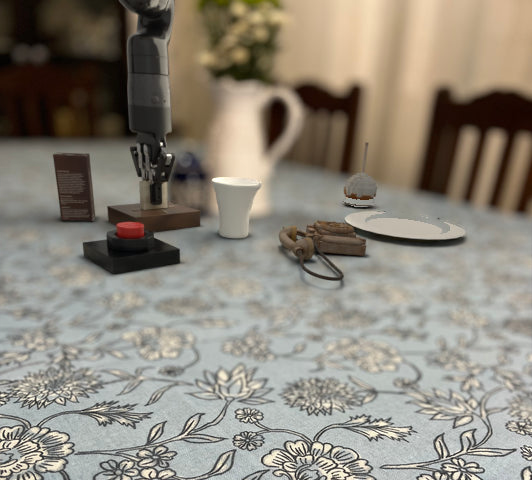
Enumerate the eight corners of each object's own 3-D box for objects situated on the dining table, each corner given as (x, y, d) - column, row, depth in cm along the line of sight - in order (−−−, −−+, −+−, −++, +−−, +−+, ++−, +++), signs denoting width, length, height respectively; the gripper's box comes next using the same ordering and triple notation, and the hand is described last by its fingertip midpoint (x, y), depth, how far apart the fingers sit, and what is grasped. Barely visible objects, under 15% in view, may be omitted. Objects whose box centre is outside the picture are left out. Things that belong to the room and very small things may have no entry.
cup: (249, 243, 92) (251, 185, 88) (202, 236, 95) (202, 179, 90) (266, 233, 100) (269, 179, 95) (222, 226, 102) (223, 173, 98)
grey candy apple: (365, 203, 136) (374, 141, 129) (379, 209, 129) (389, 144, 123) (338, 202, 134) (345, 140, 127) (350, 209, 127) (359, 143, 120)
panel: (136, 234, 93) (135, 216, 92) (108, 221, 100) (107, 205, 99) (200, 226, 102) (200, 209, 100) (170, 215, 109) (170, 199, 107)
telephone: (293, 286, 72) (297, 256, 70) (271, 230, 101) (273, 208, 100) (397, 294, 74) (403, 265, 72) (345, 237, 103) (349, 215, 101)
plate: (439, 254, 93) (441, 245, 92) (321, 228, 106) (322, 220, 105) (481, 233, 111) (482, 225, 111) (376, 213, 124) (377, 205, 124)
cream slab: (144, 209, 98) (142, 181, 95) (140, 208, 99) (139, 179, 96) (167, 207, 101) (166, 179, 98) (163, 206, 102) (162, 178, 99)
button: (124, 241, 75) (124, 229, 75) (112, 235, 78) (111, 223, 77) (149, 237, 78) (148, 226, 77) (136, 232, 80) (135, 220, 80)
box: (95, 216, 103) (90, 152, 98) (93, 221, 99) (87, 155, 94) (64, 216, 102) (56, 151, 97) (59, 221, 98) (52, 153, 93)
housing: (113, 274, 73) (111, 246, 71) (83, 256, 79) (81, 230, 78) (180, 262, 80) (179, 236, 78) (147, 247, 86) (146, 223, 84)
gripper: (188, 106, 89) (189, 208, 97) (150, 102, 98) (153, 196, 106) (149, 104, 85) (153, 212, 92) (113, 100, 94) (119, 198, 102)
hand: (153, 203), depth 99 cm, fingers closed
